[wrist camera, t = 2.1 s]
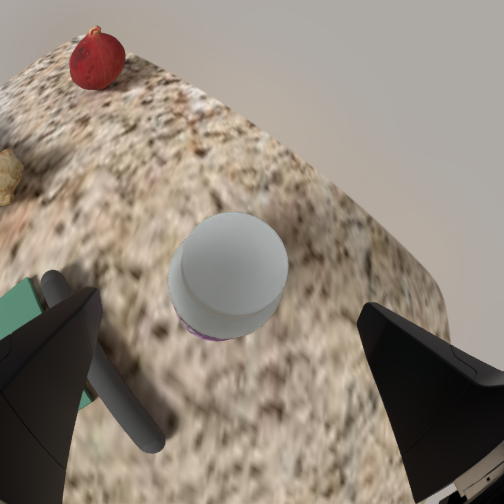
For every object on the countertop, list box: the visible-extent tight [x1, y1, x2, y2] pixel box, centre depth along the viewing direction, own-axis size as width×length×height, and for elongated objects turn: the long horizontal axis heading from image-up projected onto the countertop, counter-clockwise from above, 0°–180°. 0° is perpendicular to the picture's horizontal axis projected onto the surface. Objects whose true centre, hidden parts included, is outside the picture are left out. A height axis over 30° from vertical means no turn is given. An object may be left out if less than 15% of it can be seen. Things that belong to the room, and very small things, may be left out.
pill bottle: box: [168, 212, 289, 341], centre depth 15 cm, size 5×5×10 cm
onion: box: [69, 26, 126, 90], centre depth 20 cm, size 6×6×8 cm
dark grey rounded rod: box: [41, 270, 165, 454], centre depth 15 cm, size 14×2×2 cm, turn 38°
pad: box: [0, 277, 94, 410], centre depth 14 cm, size 10×10×1 cm
